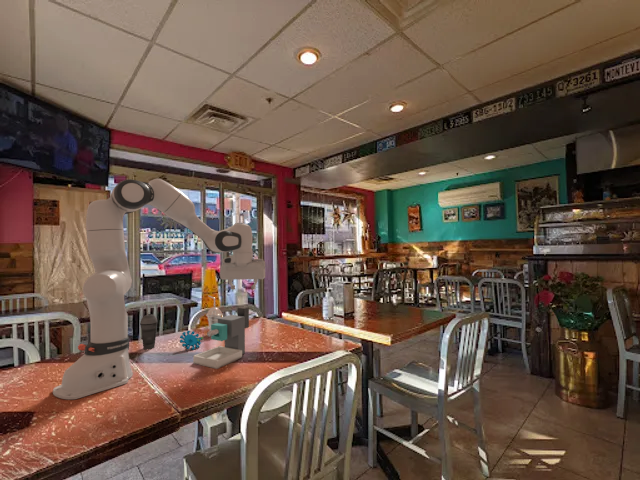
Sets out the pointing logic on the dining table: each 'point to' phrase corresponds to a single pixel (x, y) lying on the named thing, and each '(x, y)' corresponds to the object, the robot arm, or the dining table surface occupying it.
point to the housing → (234, 331)
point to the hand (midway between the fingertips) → (243, 289)
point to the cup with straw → (213, 314)
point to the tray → (217, 357)
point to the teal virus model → (190, 340)
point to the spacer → (222, 331)
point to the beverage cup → (148, 330)
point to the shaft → (241, 312)
